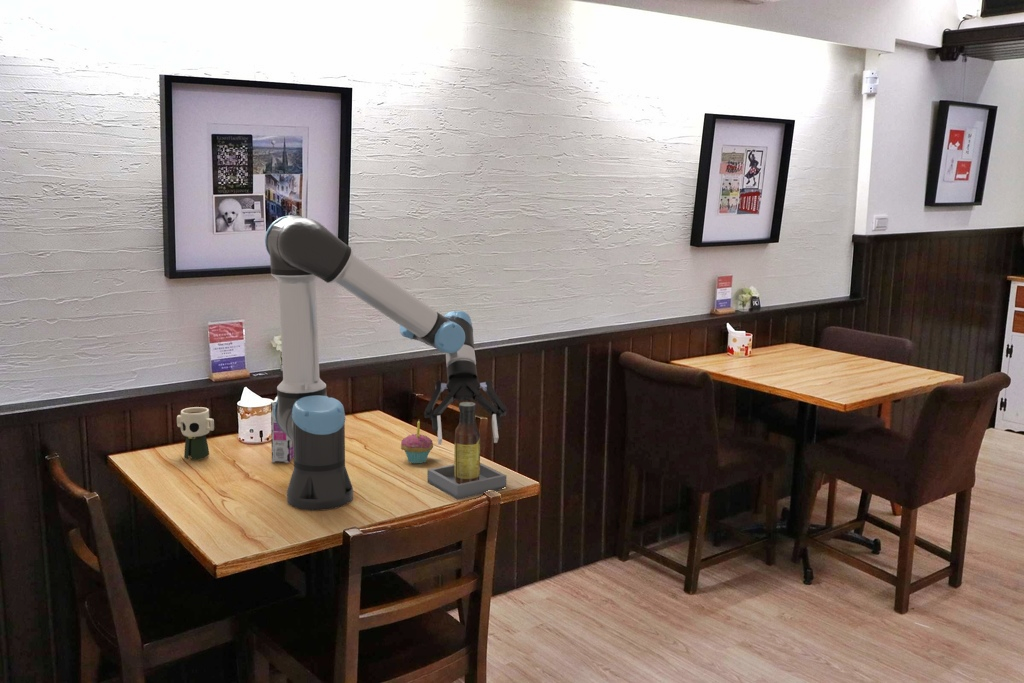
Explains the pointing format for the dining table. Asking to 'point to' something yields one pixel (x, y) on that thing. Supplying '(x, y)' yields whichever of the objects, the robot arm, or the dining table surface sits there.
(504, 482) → the tray
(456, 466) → the sauce bottle
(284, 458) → the candy bar box
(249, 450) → the dining table surface
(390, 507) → the dining table surface
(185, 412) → the character mug
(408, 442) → the cupcake
